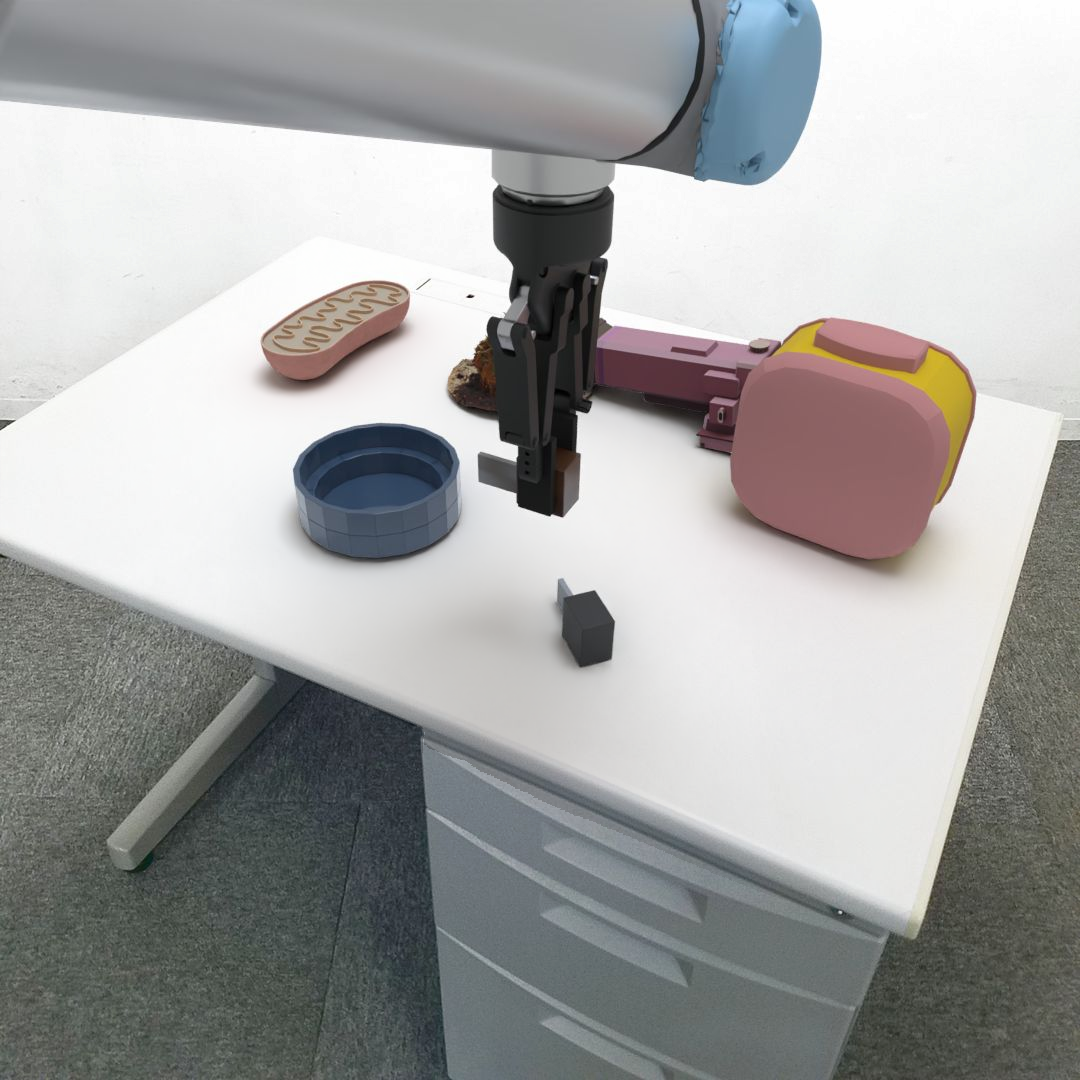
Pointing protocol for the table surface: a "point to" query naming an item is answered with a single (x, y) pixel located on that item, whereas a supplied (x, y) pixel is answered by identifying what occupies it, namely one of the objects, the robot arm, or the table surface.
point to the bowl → (378, 489)
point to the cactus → (478, 379)
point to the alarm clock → (851, 435)
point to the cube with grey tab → (586, 625)
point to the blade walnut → (506, 477)
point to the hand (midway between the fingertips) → (546, 496)
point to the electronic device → (681, 373)
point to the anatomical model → (334, 327)
